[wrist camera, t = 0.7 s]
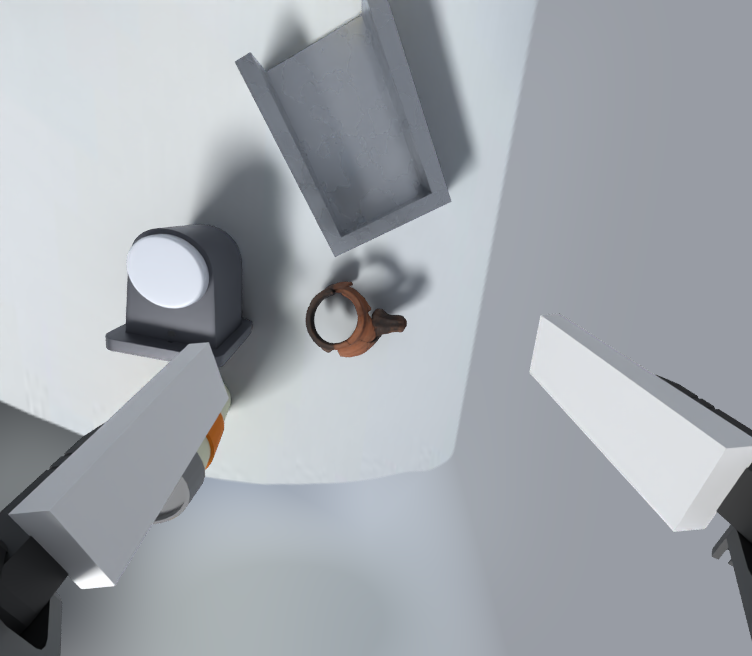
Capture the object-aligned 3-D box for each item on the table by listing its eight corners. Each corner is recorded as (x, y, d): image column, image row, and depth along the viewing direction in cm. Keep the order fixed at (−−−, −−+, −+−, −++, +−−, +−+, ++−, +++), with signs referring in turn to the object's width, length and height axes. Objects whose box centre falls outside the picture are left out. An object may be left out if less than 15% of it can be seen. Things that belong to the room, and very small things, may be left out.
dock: (254, 81, 29) (234, 61, 24) (376, 9, 27) (379, -27, 22) (338, 248, 36) (335, 257, 31) (439, 199, 34) (451, 201, 30)
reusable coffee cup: (162, 425, 46) (79, 524, 32) (146, 355, 41) (40, 438, 27) (245, 430, 47) (199, 528, 34) (241, 363, 42) (183, 447, 28)
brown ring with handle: (331, 355, 43) (301, 362, 35) (326, 290, 43) (295, 282, 35) (414, 350, 39) (402, 356, 32) (408, 279, 40) (395, 268, 32)
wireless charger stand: (264, 236, 36) (228, 247, 25) (253, 334, 40) (218, 377, 30) (167, 212, 34) (87, 213, 24) (167, 317, 39) (100, 356, 29)
